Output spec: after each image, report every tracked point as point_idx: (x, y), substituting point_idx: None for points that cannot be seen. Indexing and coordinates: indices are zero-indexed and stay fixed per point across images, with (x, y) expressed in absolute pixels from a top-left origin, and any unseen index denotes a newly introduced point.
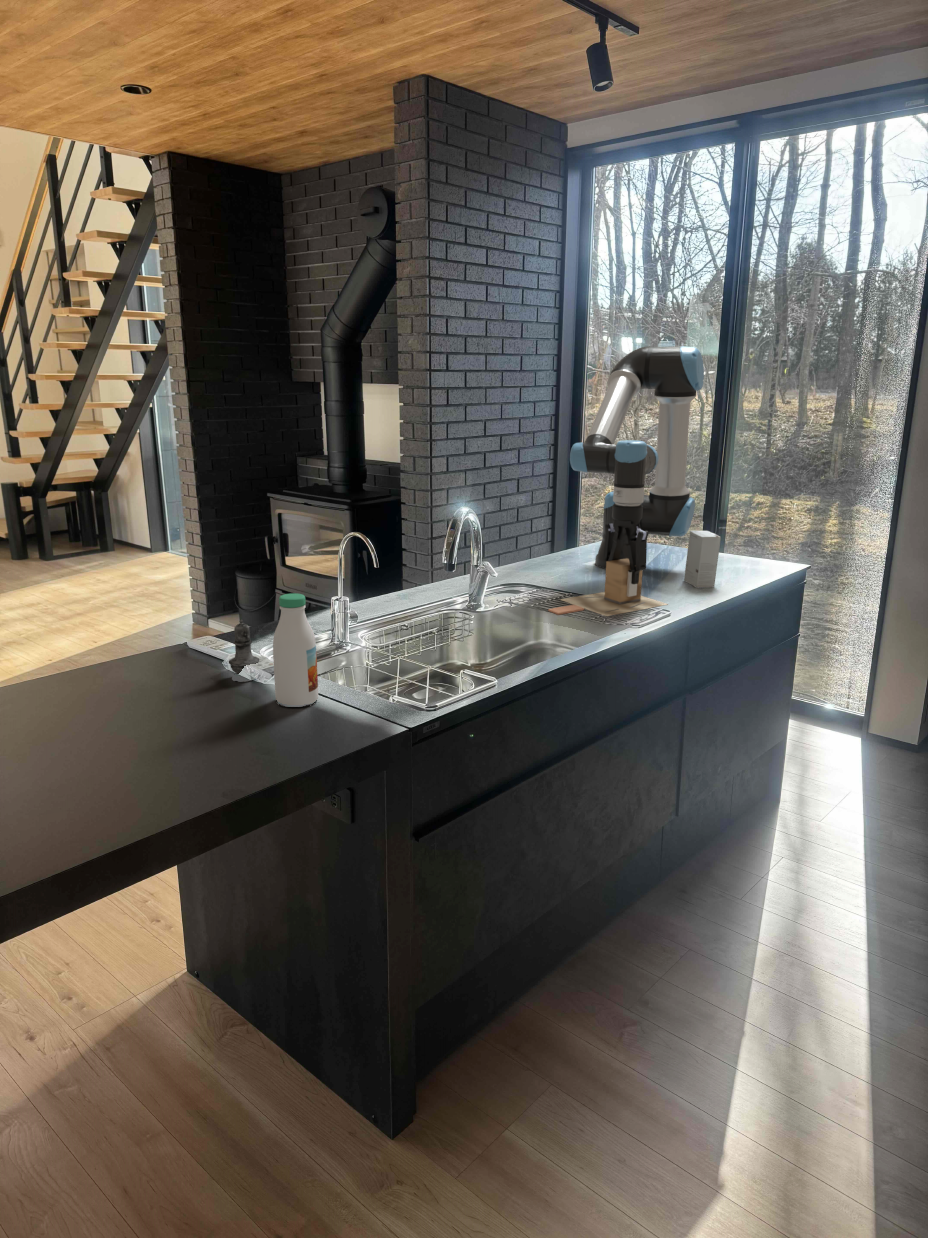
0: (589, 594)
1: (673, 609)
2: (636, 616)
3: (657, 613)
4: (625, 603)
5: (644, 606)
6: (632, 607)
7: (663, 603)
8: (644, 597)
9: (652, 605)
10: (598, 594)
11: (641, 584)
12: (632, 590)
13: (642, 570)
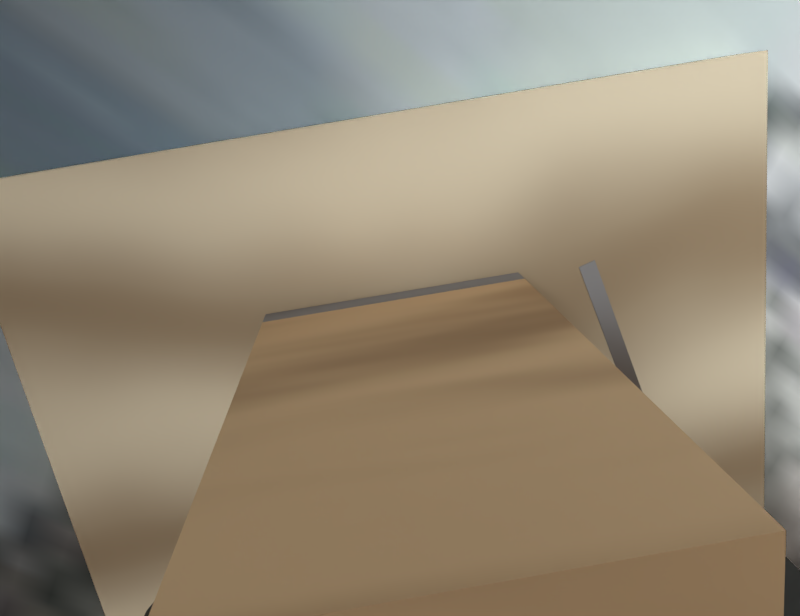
0: (104, 604)
1: (776, 13)
2: (766, 476)
3: (795, 260)
4: None
5: (700, 347)
6: None
7: (711, 87)
8: (409, 140)
9: (714, 254)
10: (128, 529)
11: (580, 334)
12: None
13: (681, 430)
